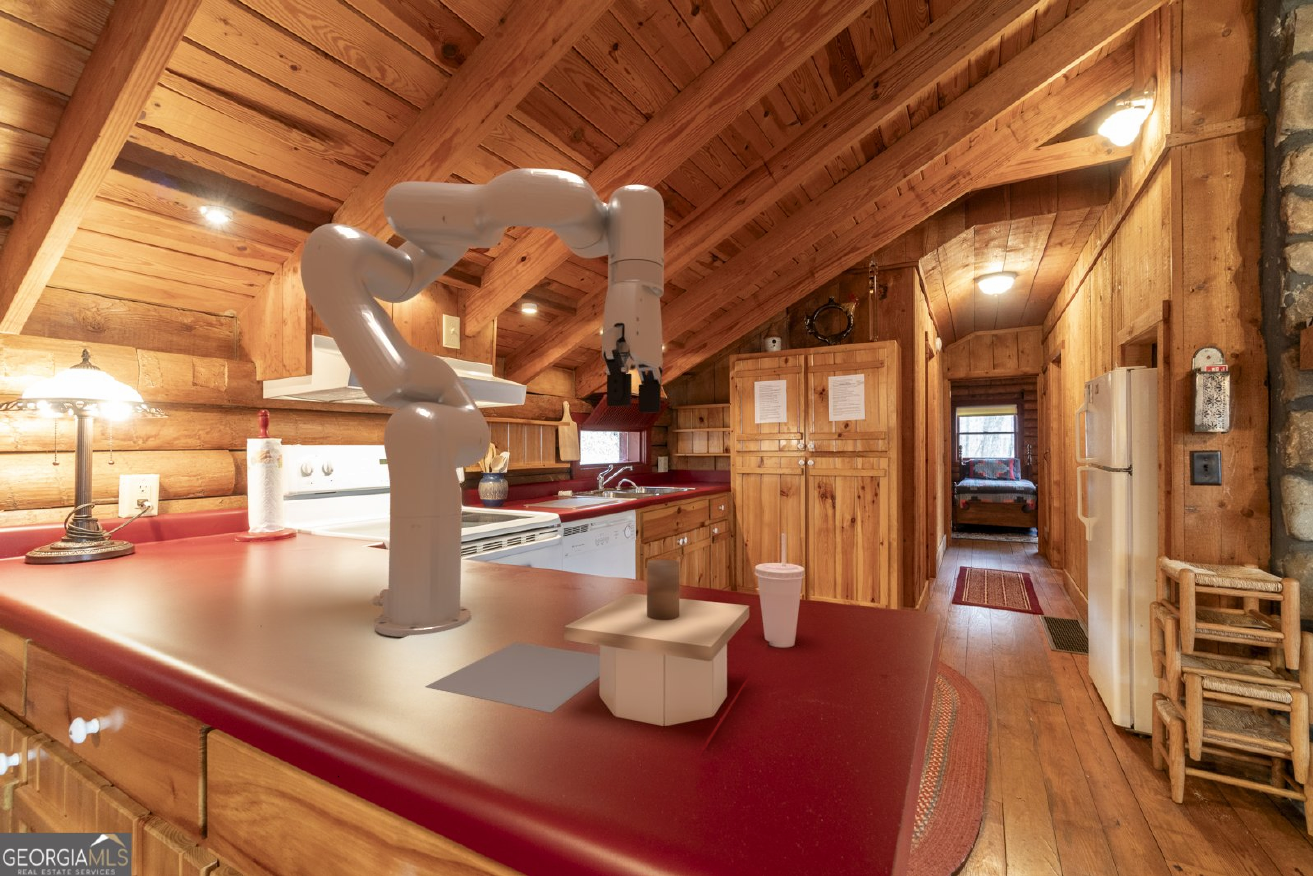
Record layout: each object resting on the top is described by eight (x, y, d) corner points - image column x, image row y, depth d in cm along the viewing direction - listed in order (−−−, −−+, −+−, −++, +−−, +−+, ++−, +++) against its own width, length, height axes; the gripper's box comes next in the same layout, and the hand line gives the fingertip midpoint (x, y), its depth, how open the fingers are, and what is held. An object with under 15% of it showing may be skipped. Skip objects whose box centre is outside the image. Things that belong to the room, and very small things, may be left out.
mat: (424, 691, 56) (424, 686, 57) (515, 646, 70) (515, 642, 70) (551, 718, 51) (551, 712, 51) (622, 663, 65) (622, 658, 65)
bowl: (581, 714, 52) (582, 638, 52) (634, 671, 62) (634, 607, 63) (701, 739, 47) (701, 655, 47) (735, 687, 58) (735, 619, 58)
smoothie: (807, 652, 68) (806, 537, 69) (753, 649, 70) (753, 536, 70) (803, 636, 75) (803, 531, 75) (755, 633, 76) (755, 530, 76)
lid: (564, 640, 51) (564, 569, 51) (628, 603, 64) (629, 547, 64) (710, 661, 46) (710, 583, 46) (749, 617, 59) (749, 556, 59)
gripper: (637, 302, 85) (636, 415, 84) (579, 265, 69) (577, 404, 68) (683, 297, 82) (683, 413, 81) (634, 257, 66) (633, 402, 65)
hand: (635, 409), depth 75 cm, fingers open, 9 cm apart
